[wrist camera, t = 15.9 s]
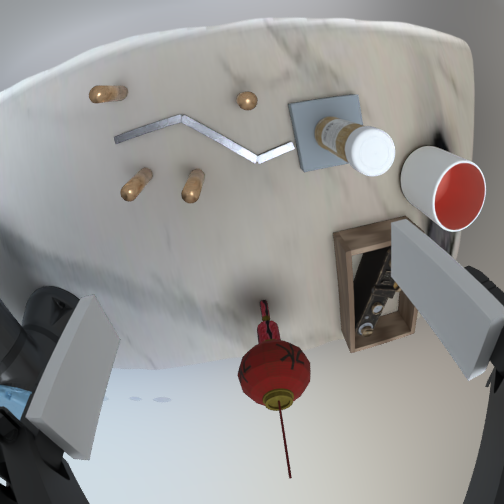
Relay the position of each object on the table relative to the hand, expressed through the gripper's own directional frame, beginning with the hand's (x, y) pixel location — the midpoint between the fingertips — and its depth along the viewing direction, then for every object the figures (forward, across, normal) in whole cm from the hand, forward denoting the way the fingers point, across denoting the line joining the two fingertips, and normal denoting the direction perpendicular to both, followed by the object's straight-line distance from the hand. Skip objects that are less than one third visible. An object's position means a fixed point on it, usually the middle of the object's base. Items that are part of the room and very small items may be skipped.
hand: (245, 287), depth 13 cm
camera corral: (+30, +19, -25) cm, 43 cm away
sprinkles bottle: (+28, +13, 0) cm, 31 cm away
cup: (+30, +29, -8) cm, 42 cm away
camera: (+30, +18, -24) cm, 43 cm away
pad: (+30, +14, 0) cm, 33 cm away
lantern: (+31, 0, -25) cm, 40 cm away
